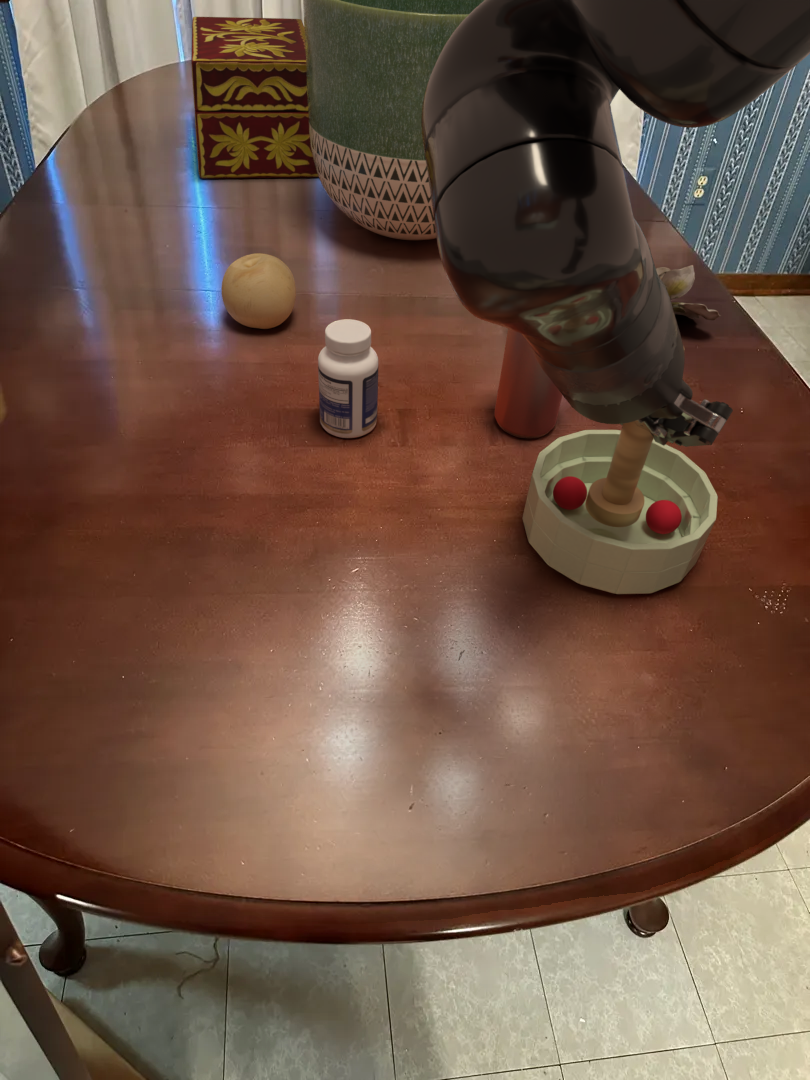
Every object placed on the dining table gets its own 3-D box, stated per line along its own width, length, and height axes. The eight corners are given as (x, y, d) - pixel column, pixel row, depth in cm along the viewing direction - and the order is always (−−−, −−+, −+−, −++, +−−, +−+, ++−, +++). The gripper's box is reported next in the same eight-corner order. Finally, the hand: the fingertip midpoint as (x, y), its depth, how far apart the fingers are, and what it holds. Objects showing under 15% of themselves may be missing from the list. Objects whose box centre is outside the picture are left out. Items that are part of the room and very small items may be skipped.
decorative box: (327, 178, 117) (325, 64, 107) (199, 179, 114) (184, 62, 103) (309, 117, 136) (306, 16, 126) (199, 117, 133) (186, 13, 123)
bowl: (723, 533, 66) (747, 483, 62) (642, 629, 58) (663, 579, 54) (580, 458, 72) (593, 409, 69) (488, 536, 64) (498, 485, 61)
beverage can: (506, 398, 79) (531, 253, 68) (562, 415, 77) (597, 270, 66) (484, 429, 75) (507, 281, 64) (543, 448, 73) (576, 299, 63)
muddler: (649, 508, 64) (711, 346, 53) (622, 535, 61) (681, 371, 51) (602, 483, 66) (653, 321, 55) (574, 509, 63) (622, 344, 53)
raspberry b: (681, 529, 65) (692, 504, 63) (666, 546, 64) (676, 521, 62) (651, 513, 67) (660, 488, 65) (635, 529, 65) (644, 504, 63)
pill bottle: (365, 401, 77) (367, 310, 70) (385, 433, 73) (389, 340, 67) (312, 411, 75) (308, 319, 68) (330, 444, 72) (328, 351, 65)
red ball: (589, 505, 67) (596, 480, 65) (571, 521, 65) (578, 496, 63) (561, 490, 68) (568, 465, 66) (543, 505, 67) (549, 480, 65)
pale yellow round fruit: (304, 334, 84) (265, 284, 78) (242, 351, 88) (200, 304, 81) (313, 280, 88) (276, 228, 82) (253, 298, 91) (213, 249, 85)
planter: (314, 184, 115) (308, -42, 96) (494, 191, 117) (523, -30, 98) (305, 267, 96) (295, 6, 77) (519, 274, 98) (561, 21, 79)
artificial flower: (504, 327, 91) (522, 236, 86) (681, 346, 95) (708, 261, 91) (525, 348, 83) (546, 250, 79) (717, 368, 88) (748, 276, 83)
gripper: (761, 326, 41) (764, 419, 56) (538, 238, 47) (597, 344, 62) (683, 452, 41) (707, 510, 57) (473, 349, 47) (547, 427, 63)
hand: (649, 423), depth 59 cm, fingers closed on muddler, 2 cm apart
